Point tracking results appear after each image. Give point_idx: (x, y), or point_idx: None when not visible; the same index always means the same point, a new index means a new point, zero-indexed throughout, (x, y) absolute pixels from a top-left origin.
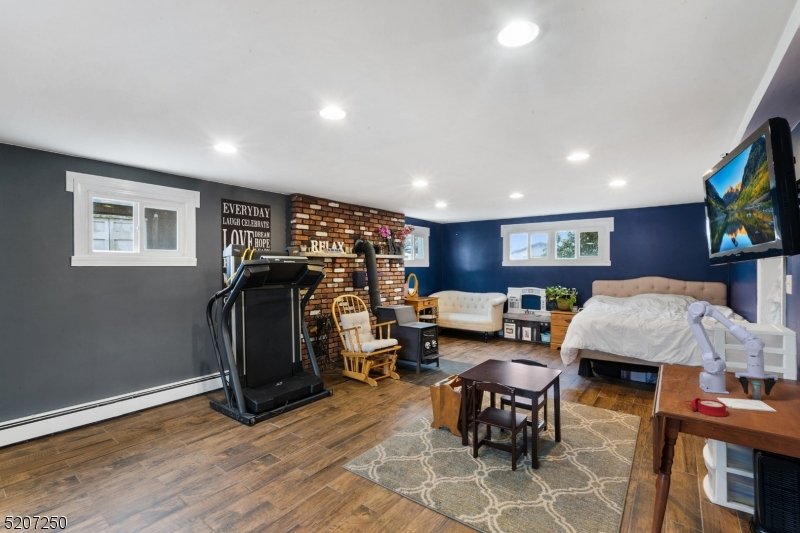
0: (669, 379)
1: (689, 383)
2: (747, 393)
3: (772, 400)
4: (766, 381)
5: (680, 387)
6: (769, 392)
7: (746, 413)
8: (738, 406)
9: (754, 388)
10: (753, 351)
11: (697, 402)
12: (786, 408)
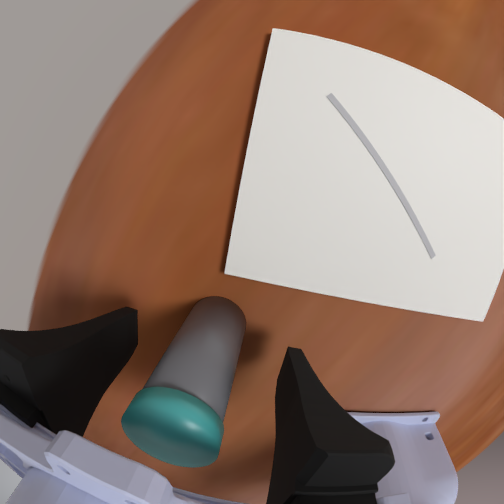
0: None
1: None
2: (295, 350)
3: (123, 297)
4: (63, 408)
5: (463, 444)
6: (111, 314)
7: (479, 43)
8: (487, 134)
9: (222, 377)
10: None
11: None
12: (137, 119)
